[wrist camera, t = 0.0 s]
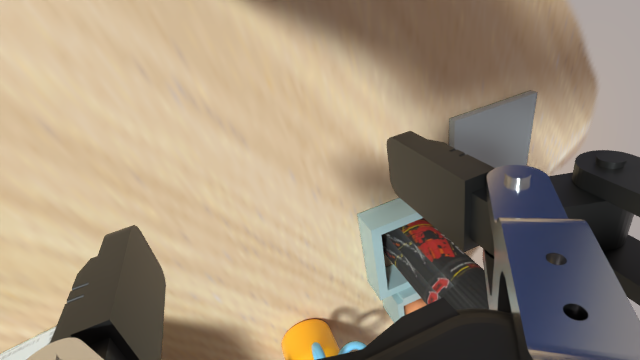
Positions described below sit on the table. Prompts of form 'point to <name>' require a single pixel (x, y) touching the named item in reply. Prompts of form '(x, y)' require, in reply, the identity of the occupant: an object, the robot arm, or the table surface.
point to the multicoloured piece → (313, 342)
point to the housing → (382, 279)
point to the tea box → (28, 347)
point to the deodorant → (436, 266)
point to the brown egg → (414, 306)
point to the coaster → (496, 131)
